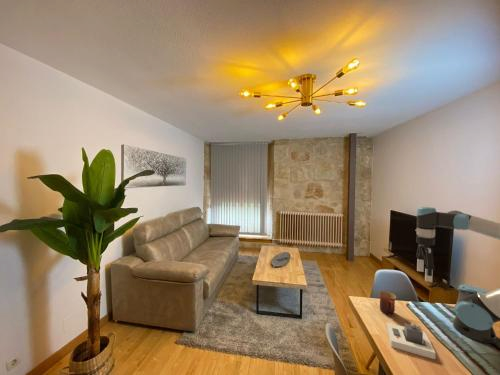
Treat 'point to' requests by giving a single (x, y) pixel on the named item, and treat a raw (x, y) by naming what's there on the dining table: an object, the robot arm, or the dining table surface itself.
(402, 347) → the socket plate
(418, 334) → the plug
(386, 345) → the dining table surface
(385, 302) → the mug
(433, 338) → the dining table surface
